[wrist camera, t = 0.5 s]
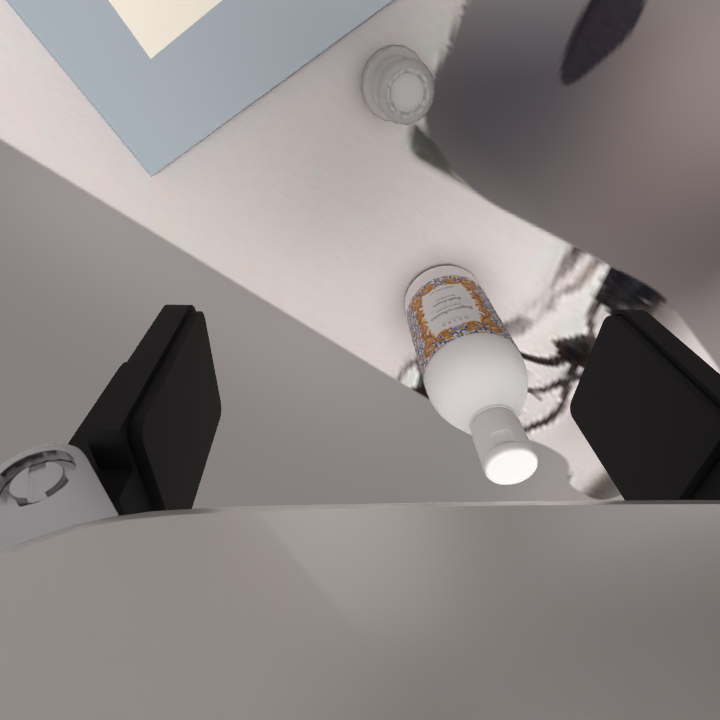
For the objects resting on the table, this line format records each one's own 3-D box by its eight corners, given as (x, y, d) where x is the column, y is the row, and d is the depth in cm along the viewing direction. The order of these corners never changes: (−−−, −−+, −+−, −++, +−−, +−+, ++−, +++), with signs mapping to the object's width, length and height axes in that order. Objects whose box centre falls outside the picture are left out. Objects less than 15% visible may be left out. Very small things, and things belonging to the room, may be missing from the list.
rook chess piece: (353, 110, 32) (358, 126, 25) (370, 35, 29) (380, 31, 23) (413, 128, 33) (432, 148, 26) (434, 56, 30) (461, 58, 24)
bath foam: (471, 251, 38) (572, 405, 22) (486, 317, 42) (581, 490, 26) (393, 278, 39) (434, 443, 23) (415, 340, 43) (463, 520, 27)
